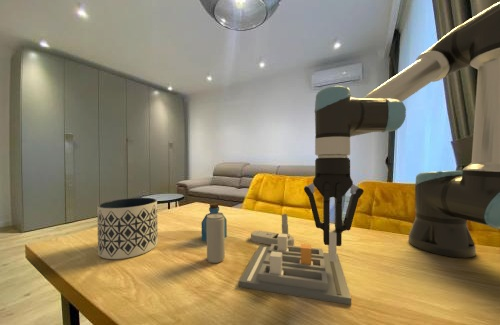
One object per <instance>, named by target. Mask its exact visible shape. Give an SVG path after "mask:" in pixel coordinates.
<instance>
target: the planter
mask: <svg viewBox="0 0 500 325" xmlns="http://www.w3.org/2000/svg"><path fill="white" fill-rule="evenodd" d="M96 211H97V212H96V213H97V254H98V256H99V257H101V258H103V259H106V260H125V259H131V258H134V257H137V256H141V255H144V254H146V253H148V252H150V251H152V250H153V249H155V247H156V246H157V245H158V240H159V238H158V231H159V230H158V200H157V199H156V198H153V197H152V198H151V197H130V198H119V199H114V200H109V201H104V202H102V203H99V204H97V210H96Z"/></svg>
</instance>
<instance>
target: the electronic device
mask: <svg viewBox="0 0 500 325" xmlns="http://www.w3.org/2000/svg"><path fill="white" fill-rule="evenodd" d="M279 233H280V232H271V231H265V230H254V231H252V232H251V233H250V241H252V242H254V243H259V244H262V245H268V246H269V245H270V246H271V244H278V234H279ZM281 234H287V237H288V246H295V237H294V236H293V235H291V234H290V233H289V224H288V214H286V213H282V214H281Z"/></svg>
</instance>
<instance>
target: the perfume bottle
mask: <svg viewBox="0 0 500 325" xmlns="http://www.w3.org/2000/svg"><path fill="white" fill-rule="evenodd" d="M219 211H220V207H219V203H216V202H215V203H214V202H213V203H209V208H208V212H209V213H207V214H205V216H204V217H203V219H202V221H201V242H206V243H207V226H206V219H207V216H208V215H210V214H223V215H224V213H223V212H219ZM227 222H228V220H227V218H226V216H225V215H224V233H225V239H226V238H227V236H228V233H227V229H228V228H227V227H228V226H227Z"/></svg>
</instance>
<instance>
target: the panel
mask: <svg viewBox="0 0 500 325" xmlns="http://www.w3.org/2000/svg"><path fill="white" fill-rule="evenodd" d="M277 249H278V244H271V245H270V246H265V245H264V246H263V245H259V246H258V247H257V249H256V250H255V253H254V254H253V255H252V257H251V259H250V261H249V262H248V264H247V267H246V268H245V270H244V272H243V273H242V275H241V277H240V278H239V280H238V287H239V288H244V289H245V288H246V289H252V290H257V291H258V290H259V291H263V292H270V293H276V294H282V295H287V296H288V295H289V296H293V297H301V298H307V299H313V300H319V301H324V302H325V301H326V302H333V303H338V304H343V305H350V306H351V305H352V296H351V292H350V290H349V289H350V288H349V286H348V283H347V280H346V277H345V274H344V270H343V268H342V263H341V261H340V257H339V254H338V253H336V262H333V261H329V257H328V252H324V249H323V248H316V247H311V261H313V265H308V264H300V260H301V246H298V245H296V246H295V245H294V246H288V249H289V251H281V250H277ZM272 251H274V252H282V270H284V275H279V274H272V273H269V271H270V254H271V252H272Z"/></svg>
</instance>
